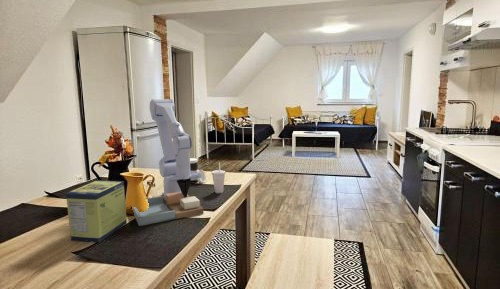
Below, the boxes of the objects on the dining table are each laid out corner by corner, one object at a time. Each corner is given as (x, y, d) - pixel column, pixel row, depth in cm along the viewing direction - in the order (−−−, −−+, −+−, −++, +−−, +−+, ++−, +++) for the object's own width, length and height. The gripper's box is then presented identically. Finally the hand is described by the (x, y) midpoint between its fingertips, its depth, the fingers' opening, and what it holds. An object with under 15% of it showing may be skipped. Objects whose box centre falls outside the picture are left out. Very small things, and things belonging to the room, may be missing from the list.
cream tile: (180, 204, 124) (180, 198, 124) (194, 202, 127) (194, 196, 127) (184, 209, 119) (184, 203, 119) (199, 206, 122) (199, 200, 121)
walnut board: (163, 202, 133) (163, 198, 132) (187, 198, 137) (187, 194, 137) (176, 218, 115) (175, 213, 115) (203, 213, 120) (203, 208, 120)
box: (130, 208, 127) (130, 201, 126) (163, 202, 133) (162, 195, 132) (139, 226, 109) (138, 217, 109) (175, 218, 115) (175, 211, 115)
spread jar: (185, 179, 170) (184, 157, 168) (206, 178, 171) (205, 157, 169) (182, 185, 158) (181, 162, 156) (205, 184, 159) (204, 161, 158)
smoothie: (223, 194, 143) (223, 164, 140) (210, 193, 144) (209, 163, 142) (227, 190, 149) (226, 161, 147) (214, 189, 150) (213, 160, 148)
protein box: (127, 223, 112) (124, 180, 110) (99, 243, 97) (95, 194, 94) (101, 221, 114) (97, 179, 111) (69, 241, 99) (64, 193, 96)
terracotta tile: (165, 199, 130) (165, 193, 130) (179, 197, 133) (179, 191, 133) (169, 203, 125) (169, 197, 125) (184, 201, 128) (183, 195, 127)
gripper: (167, 168, 122) (169, 202, 124) (203, 164, 129) (204, 196, 131) (163, 165, 128) (165, 197, 130) (197, 161, 135) (198, 192, 137)
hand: (184, 196), depth 131 cm, fingers closed
